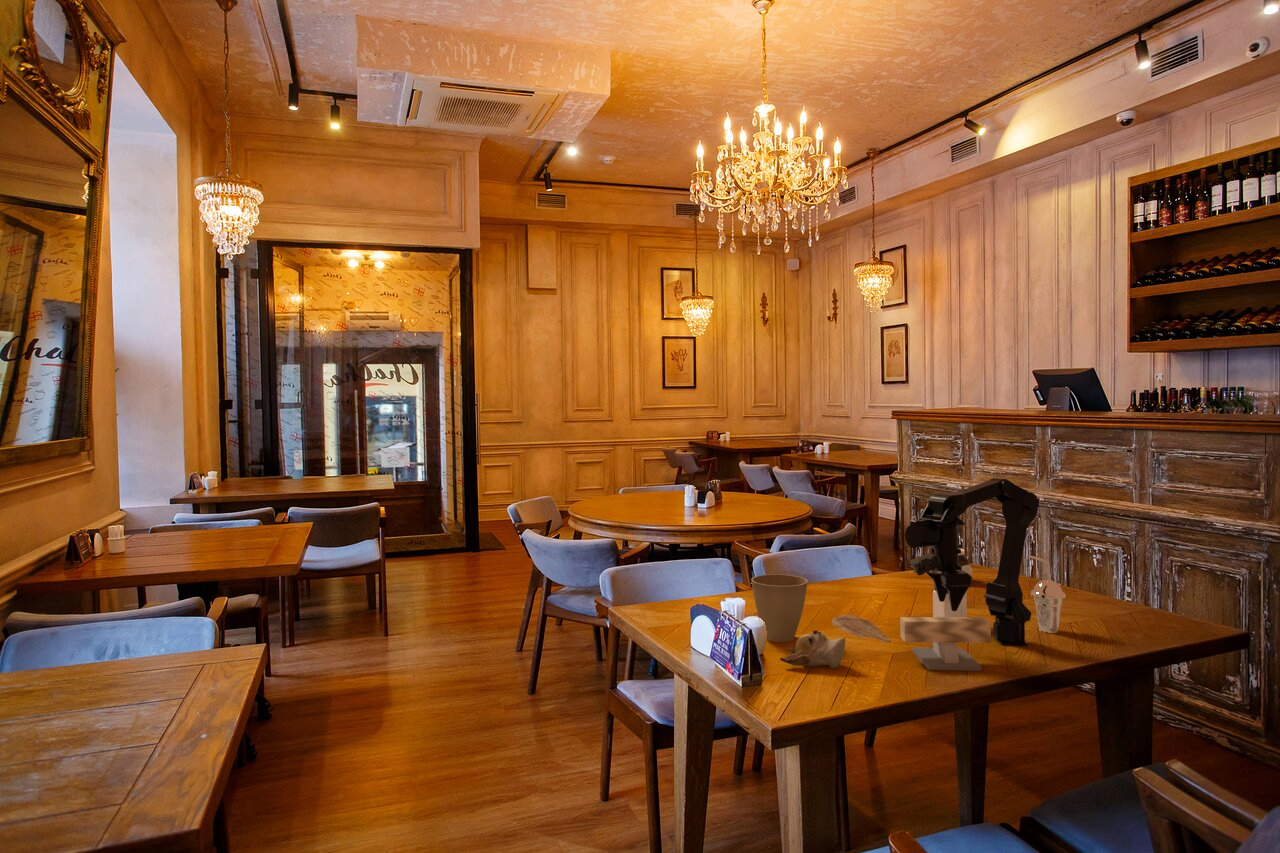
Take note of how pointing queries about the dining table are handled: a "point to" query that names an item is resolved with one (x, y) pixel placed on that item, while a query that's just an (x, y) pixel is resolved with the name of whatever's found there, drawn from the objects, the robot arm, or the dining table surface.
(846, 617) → the fish fossil
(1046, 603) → the cup with straw
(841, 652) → the ceramic sculpture
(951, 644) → the fulcrum
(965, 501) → the robot arm
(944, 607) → the jar
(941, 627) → the beech bar
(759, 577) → the plant pot
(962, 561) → the spread jar
